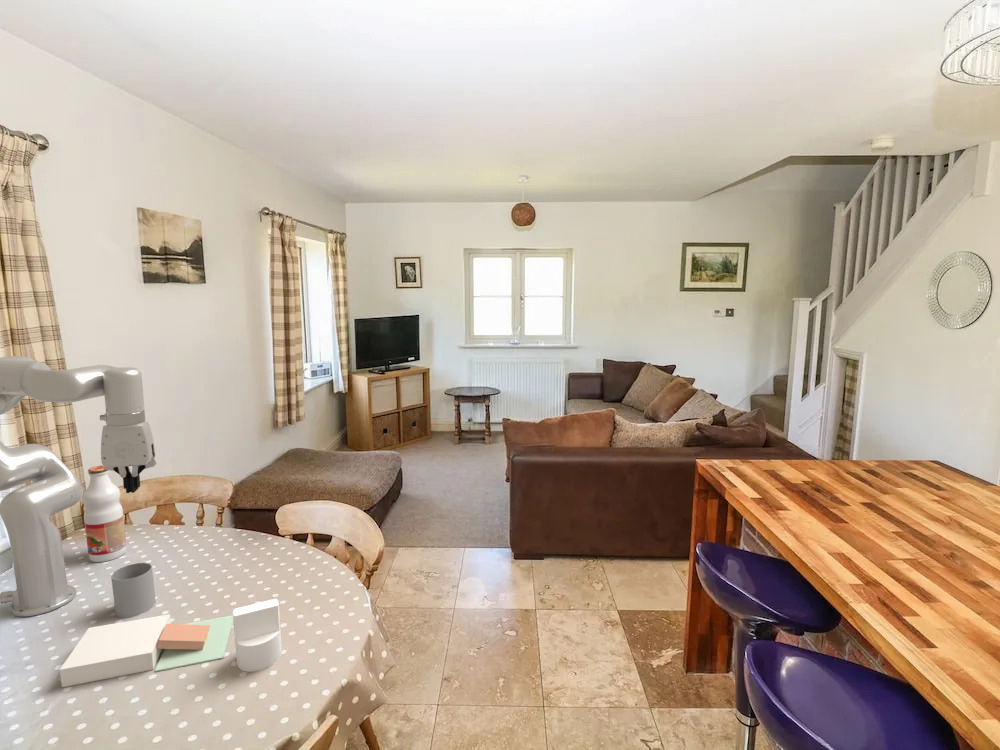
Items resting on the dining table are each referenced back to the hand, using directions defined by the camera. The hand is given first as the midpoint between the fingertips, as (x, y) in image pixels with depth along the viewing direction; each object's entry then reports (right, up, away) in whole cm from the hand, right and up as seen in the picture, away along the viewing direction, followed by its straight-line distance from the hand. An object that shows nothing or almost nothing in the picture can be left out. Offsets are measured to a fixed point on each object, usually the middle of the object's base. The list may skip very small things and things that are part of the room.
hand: (132, 490), depth 127 cm
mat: (+21, -33, -9) cm, 40 cm away
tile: (+19, -32, -11) cm, 38 cm away
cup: (-2, -31, +4) cm, 31 cm away
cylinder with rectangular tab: (+38, -34, -14) cm, 53 cm away
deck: (+7, -34, -14) cm, 37 cm away
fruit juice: (-29, -27, +30) cm, 50 cm away
